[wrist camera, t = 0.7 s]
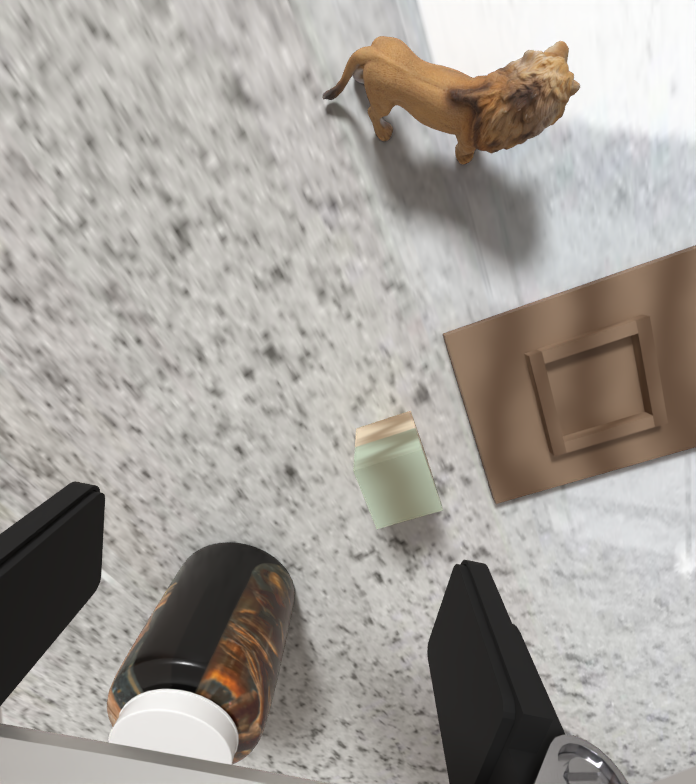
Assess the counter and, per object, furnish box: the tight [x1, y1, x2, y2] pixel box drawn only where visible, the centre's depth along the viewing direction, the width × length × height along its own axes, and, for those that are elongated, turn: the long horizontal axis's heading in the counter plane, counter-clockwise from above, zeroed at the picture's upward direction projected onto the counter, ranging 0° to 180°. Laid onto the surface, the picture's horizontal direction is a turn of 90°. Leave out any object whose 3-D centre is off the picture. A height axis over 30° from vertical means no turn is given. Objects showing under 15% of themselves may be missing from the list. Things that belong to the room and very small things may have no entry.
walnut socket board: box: [443, 245, 696, 504], centre depth 34 cm, size 20×16×2 cm
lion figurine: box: [323, 36, 580, 165], centre depth 25 cm, size 15×5×9 cm, turn 81°
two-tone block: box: [353, 411, 443, 529], centre depth 33 cm, size 5×5×8 cm
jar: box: [107, 543, 295, 765], centre depth 35 cm, size 12×12×15 cm
